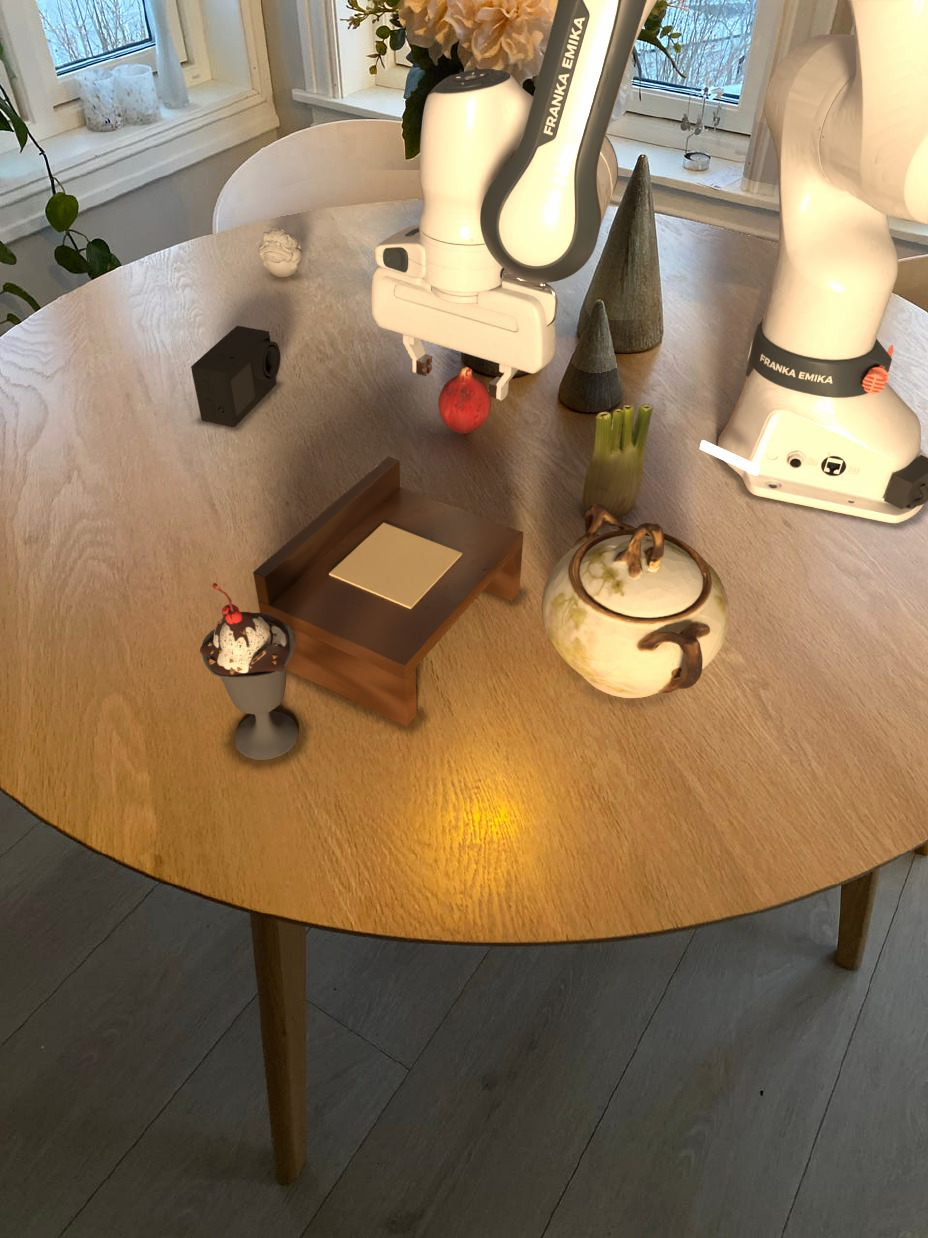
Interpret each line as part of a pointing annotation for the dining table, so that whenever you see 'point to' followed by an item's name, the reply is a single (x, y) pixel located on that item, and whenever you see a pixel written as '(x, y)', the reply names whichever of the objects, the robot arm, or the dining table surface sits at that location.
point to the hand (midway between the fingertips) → (459, 384)
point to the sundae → (254, 677)
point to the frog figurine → (280, 252)
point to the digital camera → (235, 375)
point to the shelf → (383, 587)
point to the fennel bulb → (617, 460)
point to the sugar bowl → (634, 608)
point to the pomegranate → (464, 402)
